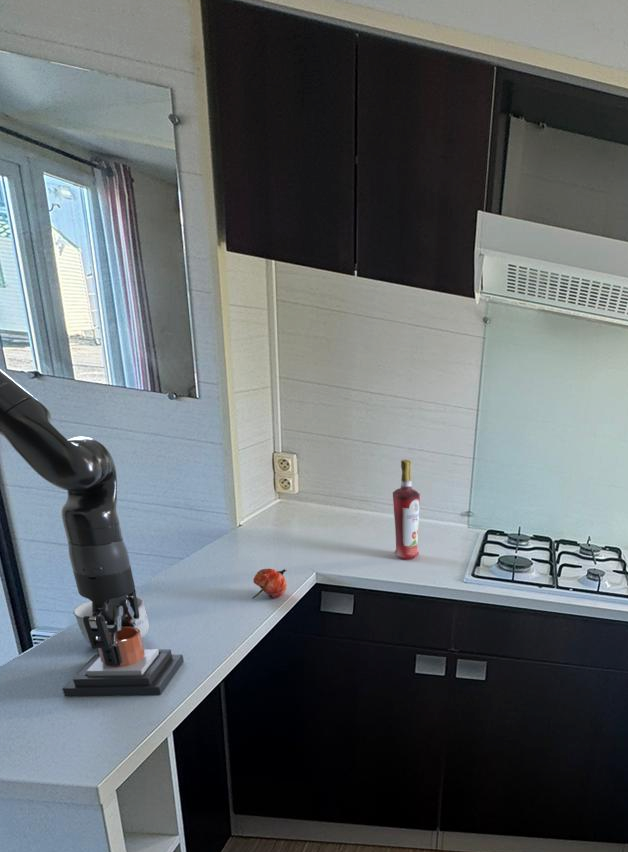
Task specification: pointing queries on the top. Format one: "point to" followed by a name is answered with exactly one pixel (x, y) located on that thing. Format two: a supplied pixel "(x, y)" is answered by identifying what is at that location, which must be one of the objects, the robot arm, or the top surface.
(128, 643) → the orange cup
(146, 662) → the pale square tile
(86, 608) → the teacup
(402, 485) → the liquor
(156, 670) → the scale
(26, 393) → the robot arm
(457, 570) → the top surface
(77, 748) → the top surface
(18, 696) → the top surface
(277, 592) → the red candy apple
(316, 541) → the top surface
